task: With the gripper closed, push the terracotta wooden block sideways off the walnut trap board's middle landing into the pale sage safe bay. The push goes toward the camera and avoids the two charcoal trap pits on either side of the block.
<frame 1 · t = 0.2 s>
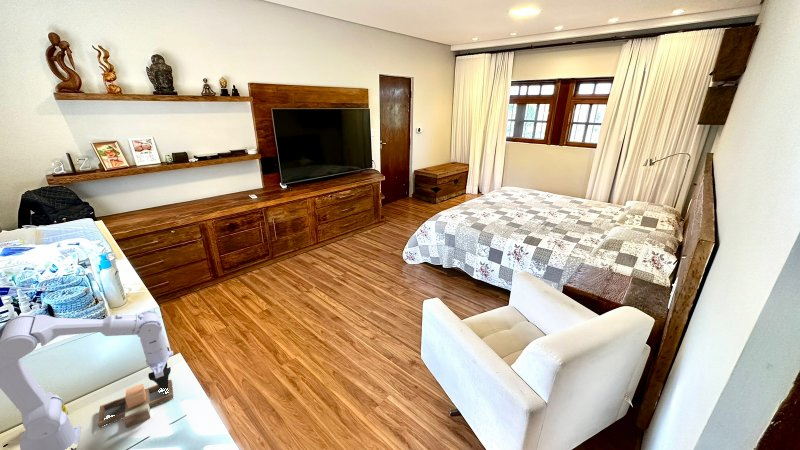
hand: (163, 377, 104), 10 cm above the table, tool pointing down, fingers open, 7 cm apart
block: (137, 399, 104), point 2 cm above the table, touching trap board
trap board: (138, 406, 104), on the table
supplement bottle: (58, 419, 98), on the table
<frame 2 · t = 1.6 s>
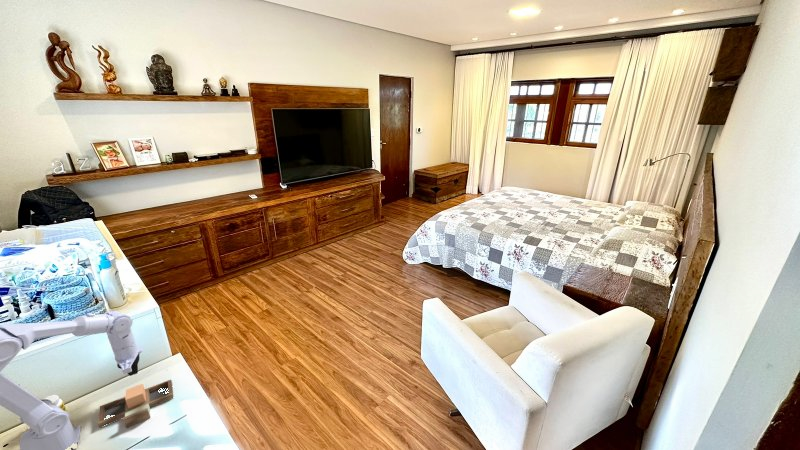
hand: (133, 373, 106), 7 cm above the table, tool pointing down, fingers closed
nothing on the table moved.
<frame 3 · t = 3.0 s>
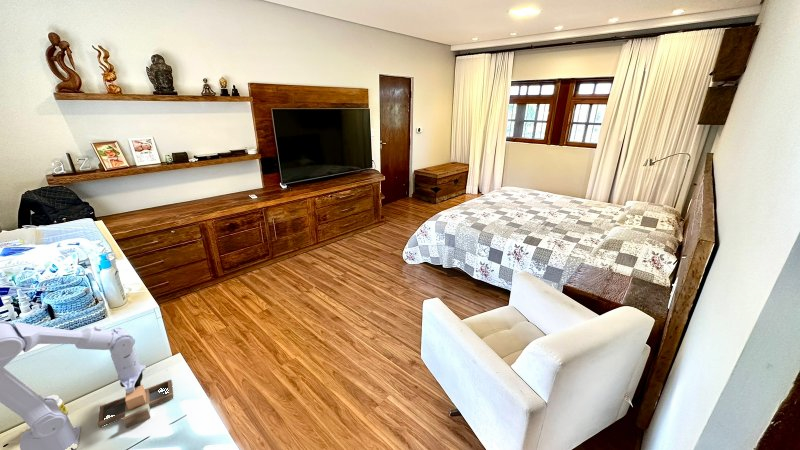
hand: (136, 391, 105), 3 cm above the table, tool pointing down, fingers closed
block: (137, 401, 103), point 2 cm above the table, touching gripper
everything else where it was.
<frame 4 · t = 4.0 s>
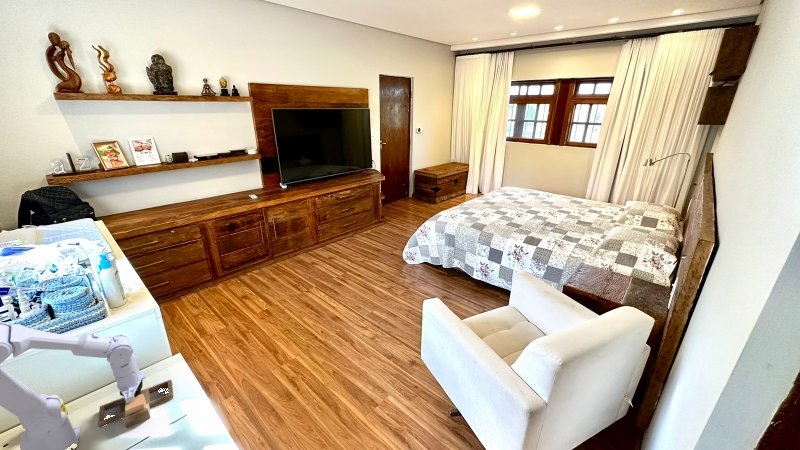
hand: (136, 399, 103), 3 cm above the table, tool pointing down, fingers closed
block: (137, 410, 100), point 2 cm above the table, touching gripper, trap board
everything else where it was.
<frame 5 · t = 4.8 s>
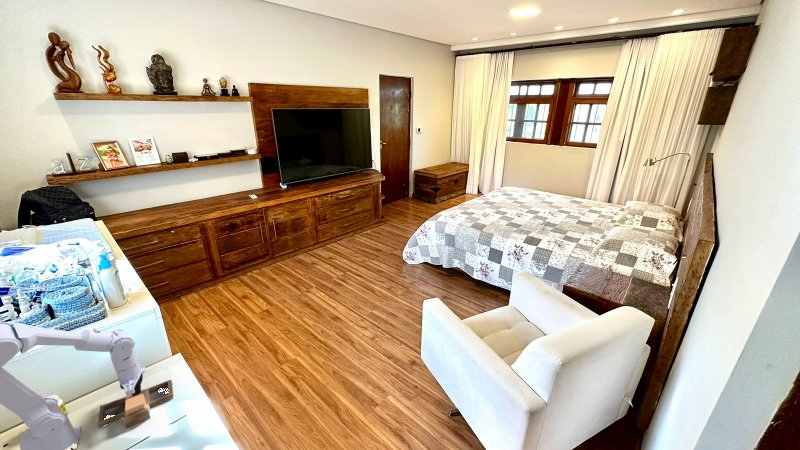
hand: (136, 393, 105), 3 cm above the table, tool pointing down, fingers closed
block: (137, 410, 100), point 2 cm above the table, touching trap board
everything else where it was.
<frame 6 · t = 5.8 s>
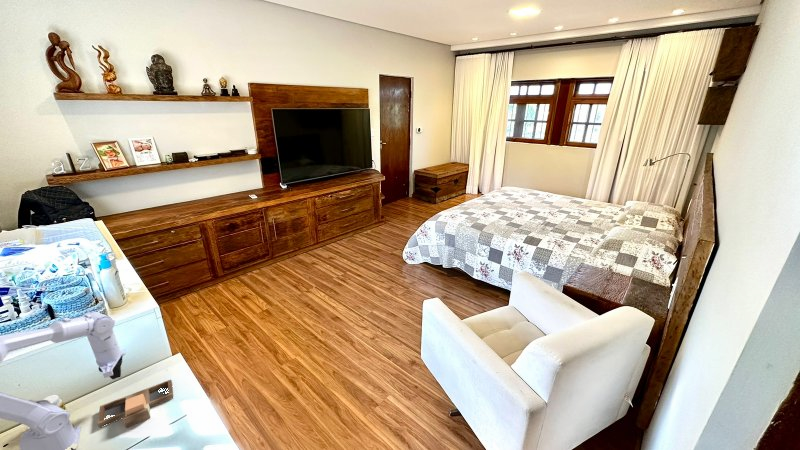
hand: (116, 376, 103), 9 cm above the table, tool pointing down, fingers closed
nothing on the table moved.
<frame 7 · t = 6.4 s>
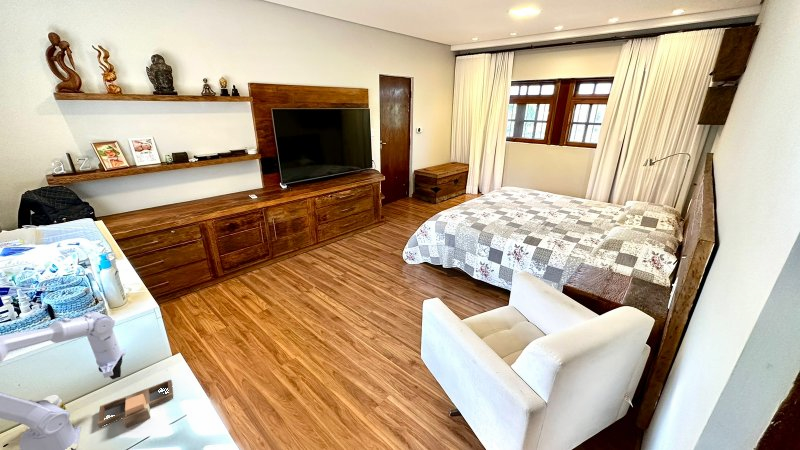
hand: (116, 376, 103), 9 cm above the table, tool pointing down, fingers closed
nothing on the table moved.
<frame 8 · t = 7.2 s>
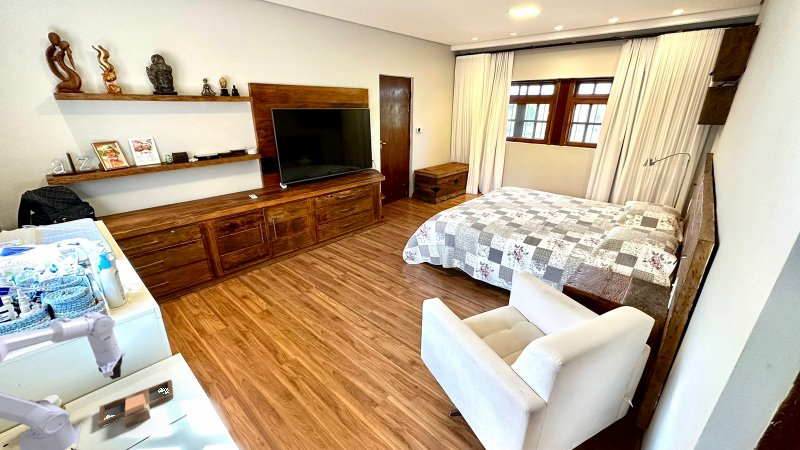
hand: (116, 376, 103), 9 cm above the table, tool pointing down, fingers closed
nothing on the table moved.
at the end: block 0.5 cm from the target spot on the trap board, point 2.0 cm above the trap board's base; block tilted 0° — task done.
